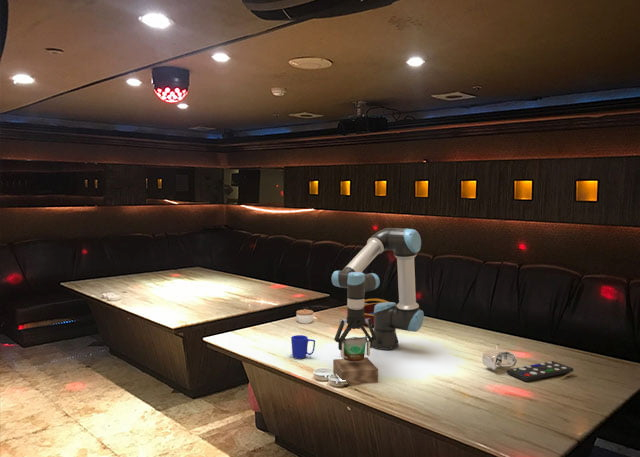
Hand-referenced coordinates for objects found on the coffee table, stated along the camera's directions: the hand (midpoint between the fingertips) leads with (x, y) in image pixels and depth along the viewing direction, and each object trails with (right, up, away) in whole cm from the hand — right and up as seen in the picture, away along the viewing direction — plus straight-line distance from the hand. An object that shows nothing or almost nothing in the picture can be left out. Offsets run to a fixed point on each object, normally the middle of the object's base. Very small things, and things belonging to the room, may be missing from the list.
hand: (355, 356), depth 221 cm
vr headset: (+69, -9, +15) cm, 71 cm away
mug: (-24, -8, +27) cm, 37 cm away
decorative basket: (+21, -3, +97) cm, 100 cm away
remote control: (+87, -10, +11) cm, 88 cm away
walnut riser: (0, -10, +1) cm, 10 cm away
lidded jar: (-25, -3, +91) cm, 95 cm away
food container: (0, -2, 0) cm, 2 cm away
